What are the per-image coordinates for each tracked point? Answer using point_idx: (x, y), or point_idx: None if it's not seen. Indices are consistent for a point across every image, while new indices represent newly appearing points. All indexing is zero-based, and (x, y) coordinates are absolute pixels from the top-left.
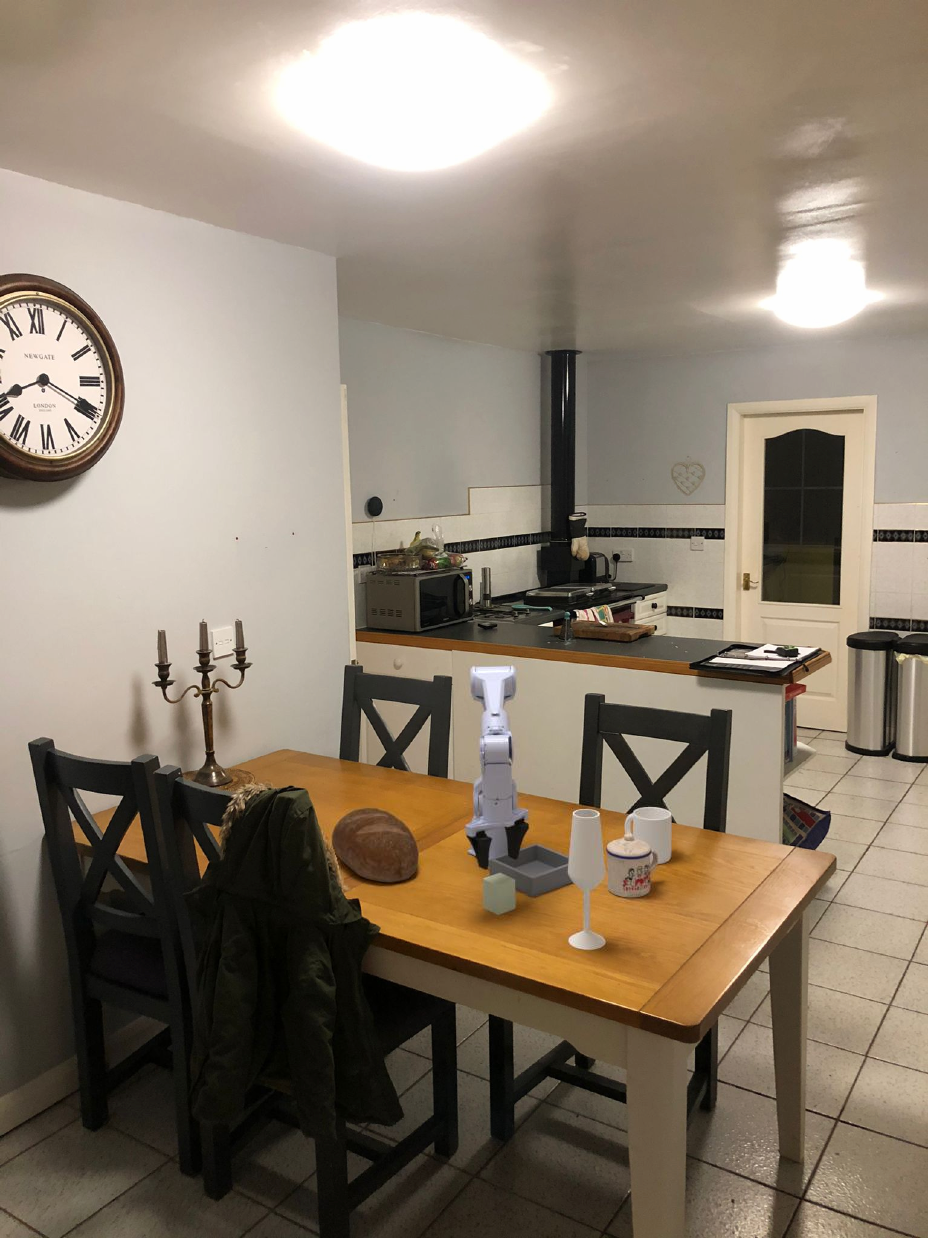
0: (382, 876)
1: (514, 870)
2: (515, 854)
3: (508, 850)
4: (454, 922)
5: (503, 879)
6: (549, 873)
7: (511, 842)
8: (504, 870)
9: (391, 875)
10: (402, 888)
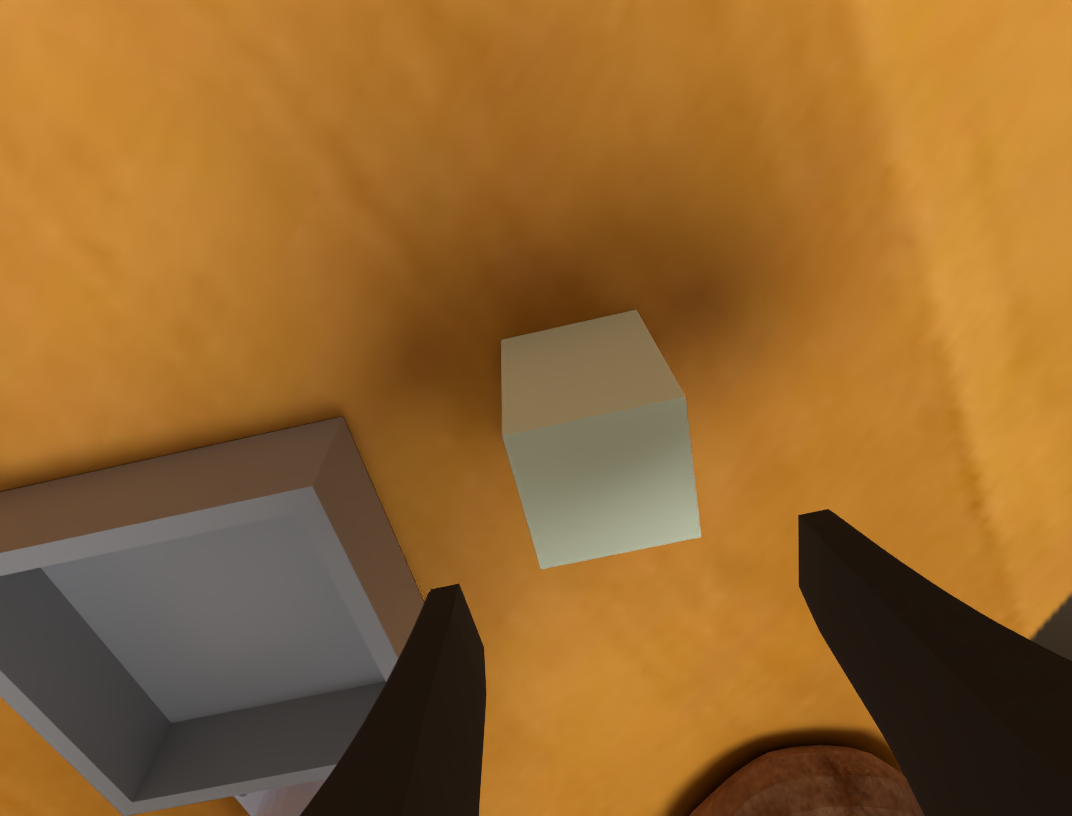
0: (897, 777)
1: (377, 616)
2: (454, 624)
3: (482, 702)
4: (886, 340)
5: (579, 472)
6: (163, 514)
7: (458, 773)
8: None
9: (871, 772)
10: (831, 701)
